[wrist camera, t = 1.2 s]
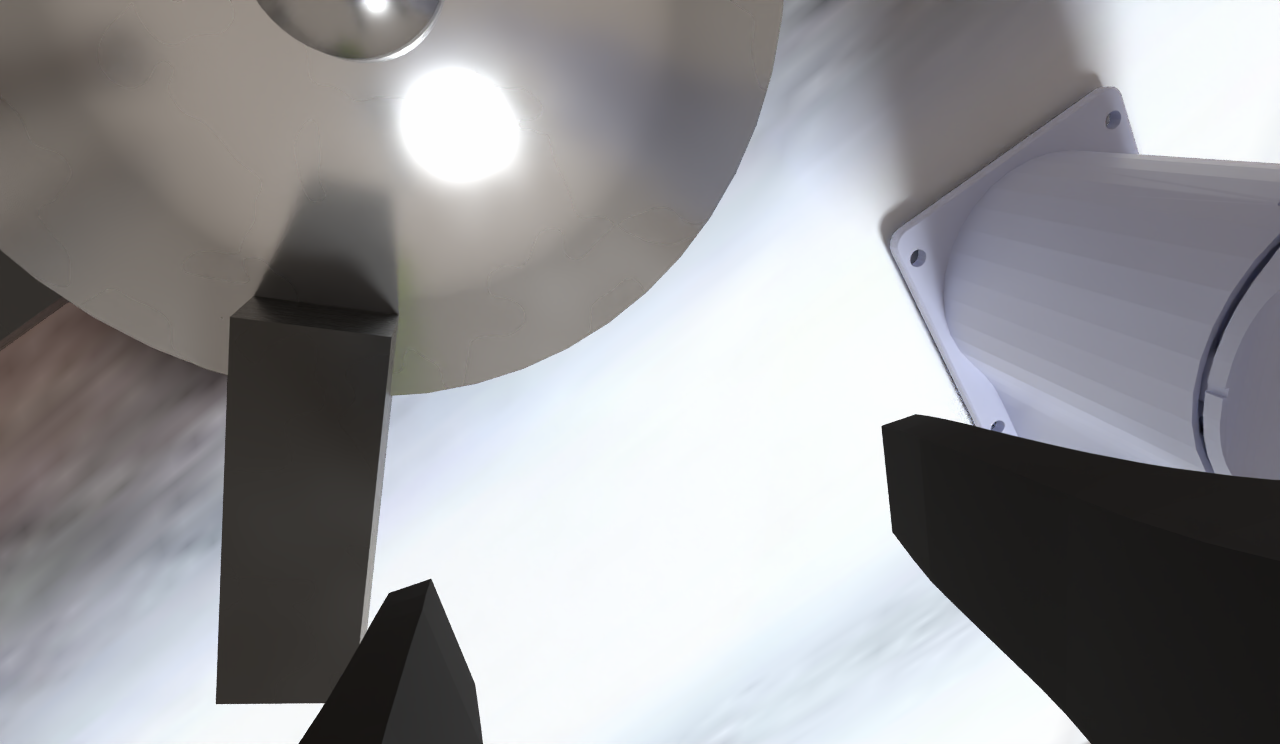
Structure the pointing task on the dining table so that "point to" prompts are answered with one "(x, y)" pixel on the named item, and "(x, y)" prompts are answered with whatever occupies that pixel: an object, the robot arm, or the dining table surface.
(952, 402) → the dining table surface
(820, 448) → the dining table surface
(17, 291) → the cooker pot
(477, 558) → the dining table surface
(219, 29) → the cooker lid
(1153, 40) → the dining table surface
